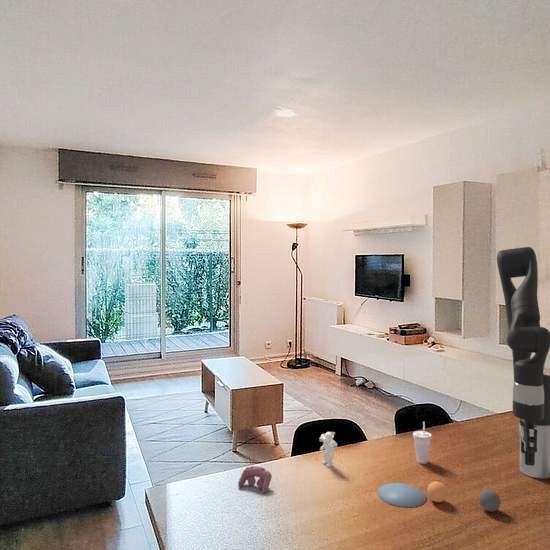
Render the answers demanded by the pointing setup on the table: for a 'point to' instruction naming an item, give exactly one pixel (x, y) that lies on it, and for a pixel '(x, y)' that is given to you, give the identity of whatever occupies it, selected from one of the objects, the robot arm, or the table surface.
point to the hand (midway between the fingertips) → (527, 458)
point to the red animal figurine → (256, 472)
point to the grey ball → (489, 500)
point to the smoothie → (422, 445)
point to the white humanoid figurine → (328, 448)
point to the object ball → (437, 491)
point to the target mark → (401, 495)
